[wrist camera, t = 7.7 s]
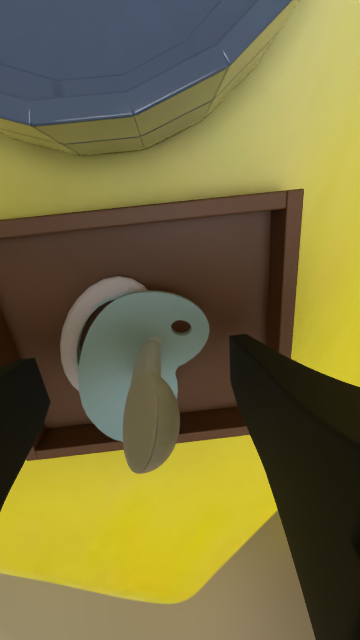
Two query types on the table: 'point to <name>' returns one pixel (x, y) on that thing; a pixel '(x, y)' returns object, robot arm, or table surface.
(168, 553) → the table surface
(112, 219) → the tray
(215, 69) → the bowl
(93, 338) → the pacifier
